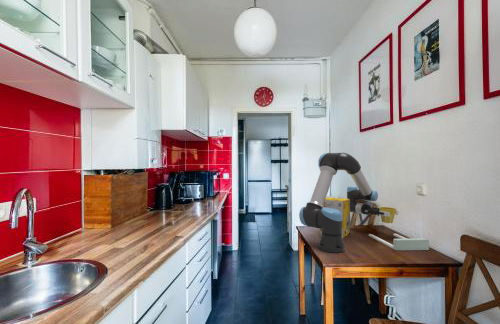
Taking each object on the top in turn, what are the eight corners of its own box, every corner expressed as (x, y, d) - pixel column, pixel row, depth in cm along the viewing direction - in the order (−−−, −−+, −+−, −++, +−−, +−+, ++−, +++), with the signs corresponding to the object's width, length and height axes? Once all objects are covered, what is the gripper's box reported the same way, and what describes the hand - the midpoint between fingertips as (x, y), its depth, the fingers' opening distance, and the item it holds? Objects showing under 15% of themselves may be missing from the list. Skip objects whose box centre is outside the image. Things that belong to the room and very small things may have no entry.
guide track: (368, 235, 188) (368, 227, 188) (396, 235, 189) (396, 226, 189) (396, 250, 156) (396, 240, 156) (428, 249, 158) (429, 239, 158)
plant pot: (397, 222, 183) (397, 208, 183) (394, 224, 175) (394, 209, 175) (381, 220, 190) (381, 206, 190) (377, 222, 182) (377, 207, 182)
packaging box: (349, 233, 194) (350, 199, 194) (343, 238, 181) (343, 201, 181) (327, 230, 203) (328, 197, 203) (319, 234, 190) (320, 199, 190)
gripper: (372, 212, 204) (402, 217, 185) (354, 215, 191) (384, 221, 173) (372, 202, 204) (402, 206, 185) (354, 204, 191) (384, 209, 173)
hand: (393, 213), depth 179 cm, fingers closed on plant pot, 10 cm apart
